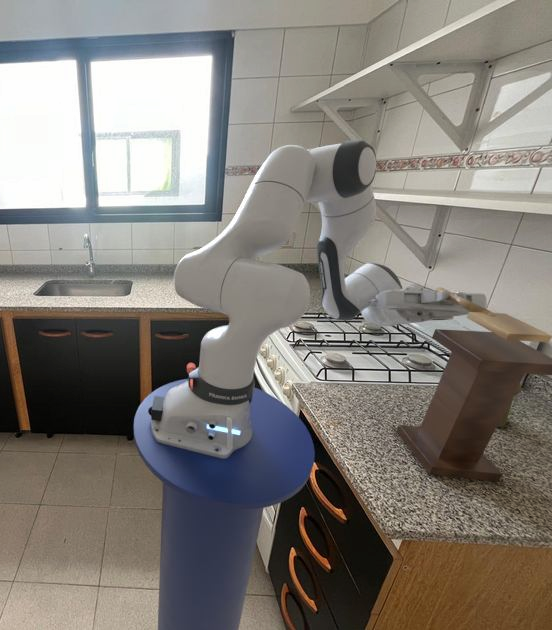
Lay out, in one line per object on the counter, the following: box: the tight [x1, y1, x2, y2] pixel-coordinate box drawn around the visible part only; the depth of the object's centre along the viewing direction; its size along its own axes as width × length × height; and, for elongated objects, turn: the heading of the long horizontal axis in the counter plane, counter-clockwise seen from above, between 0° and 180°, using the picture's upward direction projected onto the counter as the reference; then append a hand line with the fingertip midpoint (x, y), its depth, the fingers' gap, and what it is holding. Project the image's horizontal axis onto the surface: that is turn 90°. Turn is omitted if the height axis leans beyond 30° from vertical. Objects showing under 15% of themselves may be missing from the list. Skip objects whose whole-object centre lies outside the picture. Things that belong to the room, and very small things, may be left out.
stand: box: [395, 328, 552, 482], centre depth 67 cm, size 12×12×26 cm
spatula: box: [434, 286, 552, 343], centre depth 66 cm, size 6×23×2 cm, turn 171°
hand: (454, 295), depth 71 cm, fingers closed on spatula, 1 cm apart
